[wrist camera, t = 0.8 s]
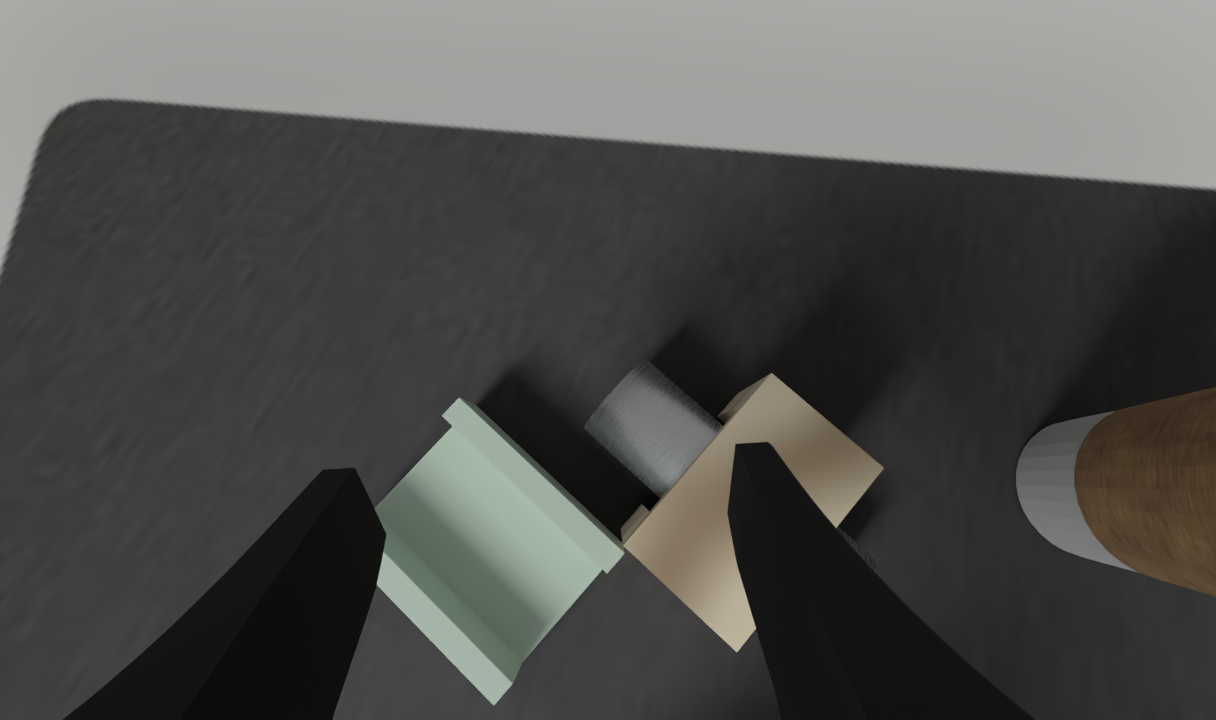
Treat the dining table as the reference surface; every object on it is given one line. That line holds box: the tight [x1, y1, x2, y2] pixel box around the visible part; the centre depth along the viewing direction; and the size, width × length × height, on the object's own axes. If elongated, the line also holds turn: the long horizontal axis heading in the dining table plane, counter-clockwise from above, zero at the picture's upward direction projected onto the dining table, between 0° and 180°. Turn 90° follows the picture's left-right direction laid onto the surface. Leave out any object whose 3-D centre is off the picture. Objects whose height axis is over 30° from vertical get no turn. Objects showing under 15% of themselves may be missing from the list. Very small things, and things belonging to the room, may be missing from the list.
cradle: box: [374, 398, 624, 705], centre depth 23 cm, size 9×7×3 cm
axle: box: [584, 359, 877, 573], centre depth 23 cm, size 12×4×4 cm, turn 48°
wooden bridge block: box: [621, 373, 884, 652], centre depth 22 cm, size 5×8×6 cm, turn 138°
